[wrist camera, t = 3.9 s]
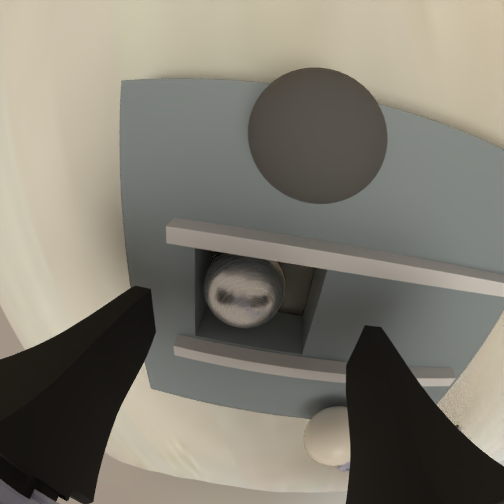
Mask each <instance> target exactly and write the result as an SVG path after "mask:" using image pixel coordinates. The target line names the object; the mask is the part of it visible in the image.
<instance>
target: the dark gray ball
mask: <svg viewBox="0 0 504 504" xmlns="http://www.w3.org/2000/svg"><path fill="white" fill-rule="evenodd" d="M248 142H249V147H250V152H251V155H252V157H253V160H254V162H255V164H256V166H257V168H258V170H259V171H260V173H261V174H262V175H263V177H264V178H265V179H266V180H267V181H268V182H269V183H270V184H271V185H272V186H273V187H274V188H275V189H277V190H278V191H280V192H281V193H283V194H284V195H286V196H288V197H290V198H293V199H296V200H298V201H302V202H306V203H312V204H329V203H336V202H340V201H343V200H346V199H348V198H351V197H352V196H354V195H356V194H358V193H359V192H360V191H362V190H363V189H365V188H366V187H367V186H368V185H369V184H370V183H371V182H372V180H373V179H374V178H375V177H376V175H377V173H378V172H379V170H380V168H381V166H382V164H383V161H384V159H385V155H386V151H387V144H388V134H387V126H386V122H385V118H384V115H383V113H382V111H381V108H380V107H379V105H378V103H377V101H376V100H375V99H374V97H373V96H372V95H371V93H370V92H369V91H368V90H367V89H366V88H365V87H364V86H363V85H361V84H360V83H359V82H357V81H356V80H355V79H353V78H351V77H350V76H348V75H346V74H343V73H341V72H338V71H335V70H331V69H325V68H305V69H299V70H296V71H292V72H290V73H287V74H285V75H283V76H281V77H279V78H278V79H276V80H275V81H273V82H272V83H271V84H270V85H269V86H267V88H266V89H265V90H264V91H263V92H262V93H261V95H260V96H259V97H258V99H257V100H256V102H255V104H254V107H253V109H252V112H251V115H250V118H249V124H248Z"/></svg>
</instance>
